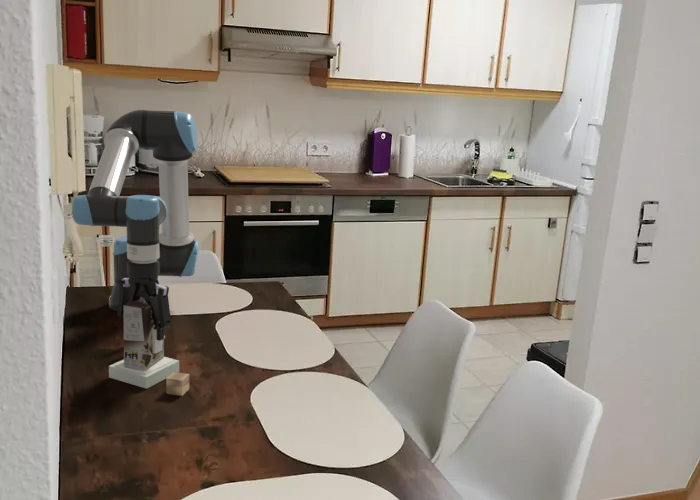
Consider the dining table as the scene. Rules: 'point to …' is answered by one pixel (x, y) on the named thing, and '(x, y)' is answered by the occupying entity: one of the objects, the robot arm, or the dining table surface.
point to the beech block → (177, 383)
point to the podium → (144, 372)
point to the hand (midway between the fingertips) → (144, 347)
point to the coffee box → (139, 336)
